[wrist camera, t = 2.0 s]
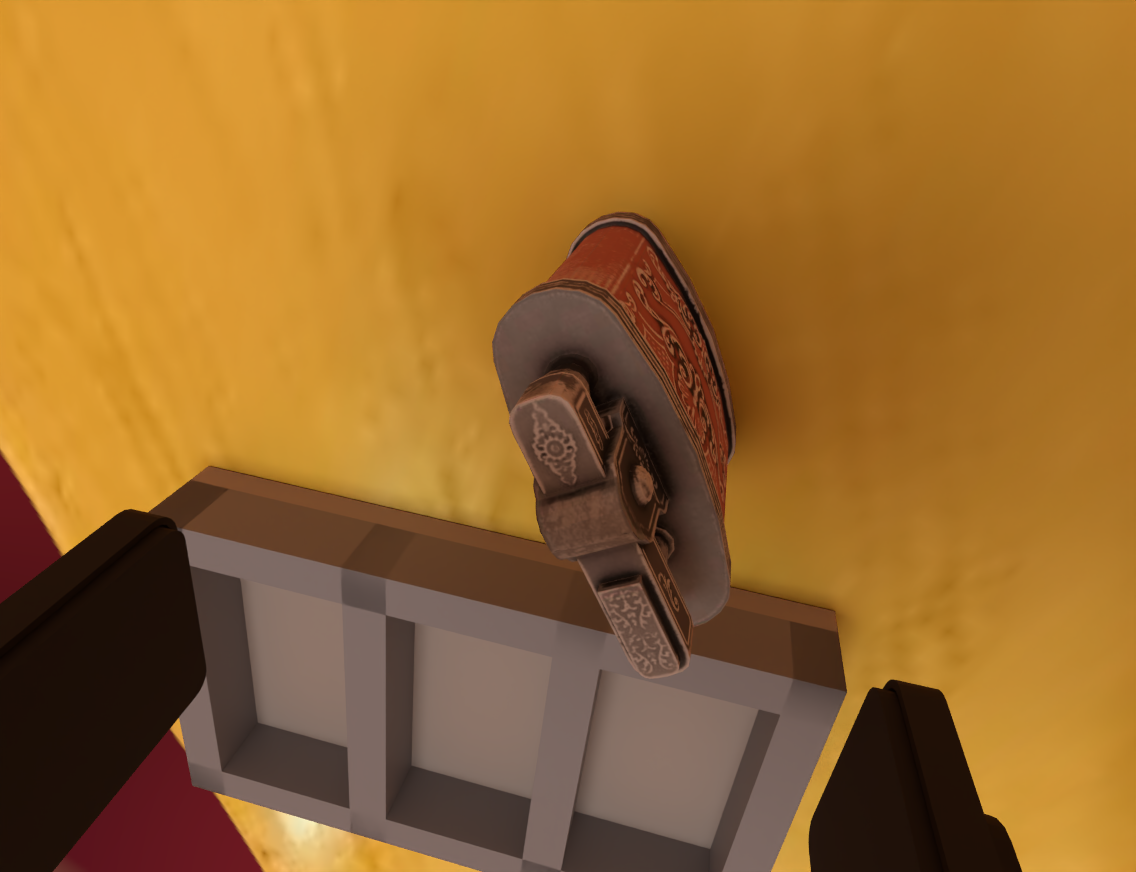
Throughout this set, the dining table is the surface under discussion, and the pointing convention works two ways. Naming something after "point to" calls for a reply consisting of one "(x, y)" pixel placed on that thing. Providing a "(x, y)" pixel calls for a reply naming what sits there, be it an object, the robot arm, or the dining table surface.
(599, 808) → the tray
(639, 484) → the lighter
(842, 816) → the robot arm
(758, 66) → the dining table surface
